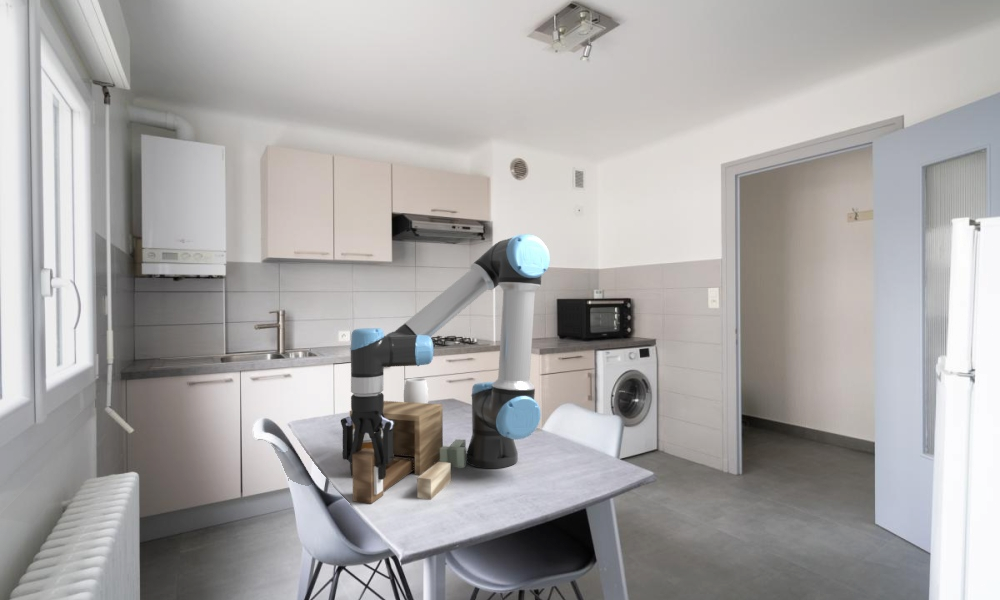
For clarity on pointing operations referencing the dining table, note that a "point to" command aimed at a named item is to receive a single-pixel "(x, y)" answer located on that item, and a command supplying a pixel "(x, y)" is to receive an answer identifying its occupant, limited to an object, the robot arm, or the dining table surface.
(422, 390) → the wineglass
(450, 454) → the tee stick
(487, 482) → the dining table surface
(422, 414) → the wooden storage bin
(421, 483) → the beech stick
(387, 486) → the crook
